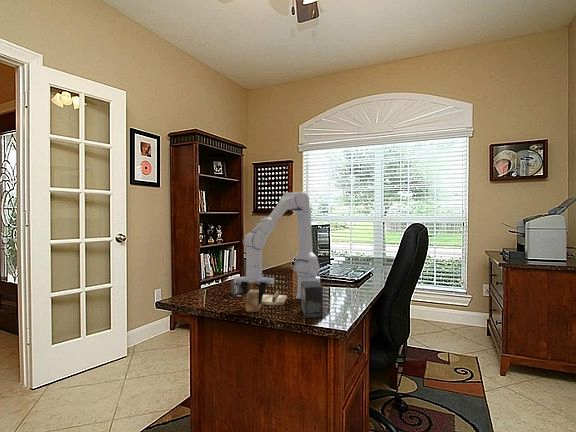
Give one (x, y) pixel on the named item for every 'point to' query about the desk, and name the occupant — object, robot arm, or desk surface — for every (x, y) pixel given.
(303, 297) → the small box
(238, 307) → the desk surface
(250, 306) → the rail end block
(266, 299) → the post slot base
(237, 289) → the mini dv tape
